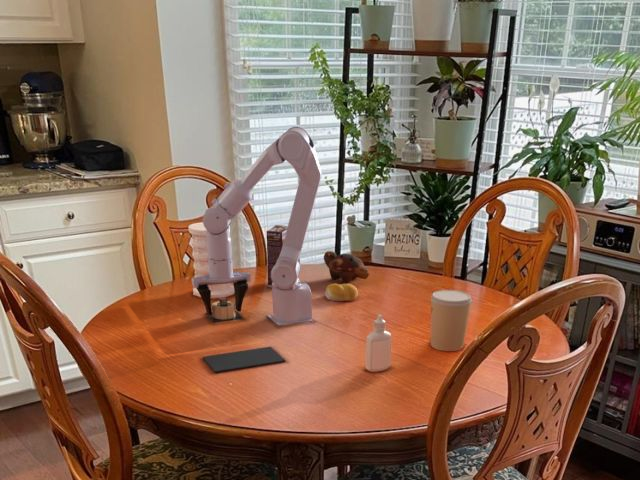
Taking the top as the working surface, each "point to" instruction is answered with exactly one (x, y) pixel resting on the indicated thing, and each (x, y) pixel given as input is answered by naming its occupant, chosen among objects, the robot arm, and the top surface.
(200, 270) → the decorative container
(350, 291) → the bread roll
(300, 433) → the top surface
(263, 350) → the mat
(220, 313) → the wooden ring
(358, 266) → the decorative turtle
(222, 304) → the tape post
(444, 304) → the white canister
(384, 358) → the eye dropper bottle
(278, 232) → the supplement box
